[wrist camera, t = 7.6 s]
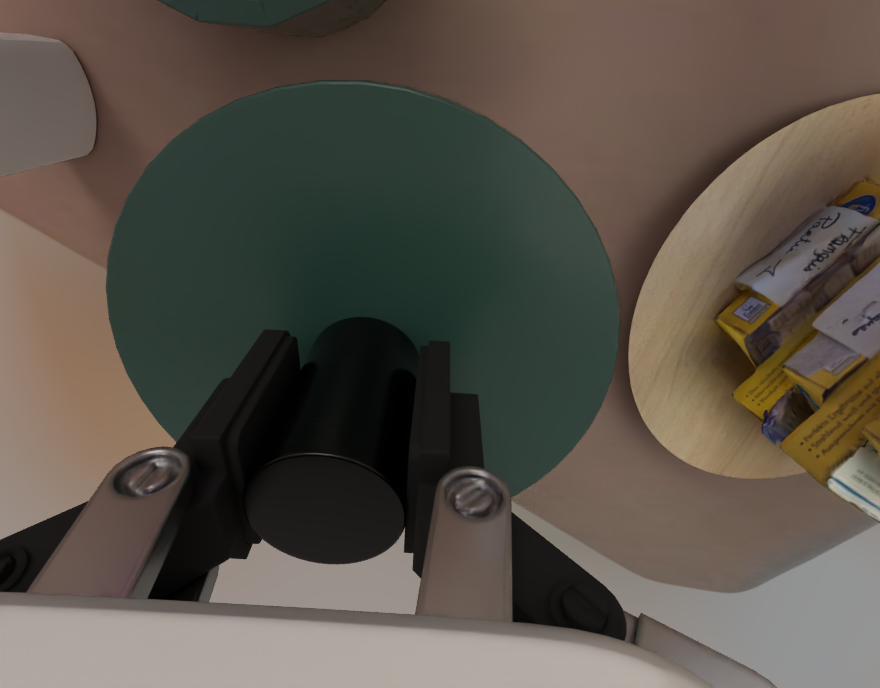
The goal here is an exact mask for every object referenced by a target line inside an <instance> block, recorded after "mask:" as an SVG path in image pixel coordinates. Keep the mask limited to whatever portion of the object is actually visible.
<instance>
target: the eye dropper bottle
mask: <svg viewBox="0 0 880 688" xmlns="http://www.w3.org/2000/svg"><path fill="white" fill-rule="evenodd" d="M96 126H97V120H96V109H95V103H94V99H93V95H92V91H91V88H90V85H89V83H88V80H87V78H86V75H85V73H84V71H83V69H82V67H81V65H80V63H79V61H78V59H77V57H76V56H75V54H74V52H73V51H72V50H71V49H70V48H69V47H68V46H67V45H66V44H65V43H63V42H61V41H59V40H56V39H52V38H47V37H41V36H35V35H28V34H15V33H0V177H2V176H7V175H11V174H15V173H19V172H23V171H27V170H31V169H35V168H39V167H43V166H47V165H51V164H55V163H59V162H63V161H66V160H70V159H74V158H78V157H82V156H85V155H88V154H89V153H90V151H91V150H92V149H93V146H94V142H95V137H96Z"/></svg>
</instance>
